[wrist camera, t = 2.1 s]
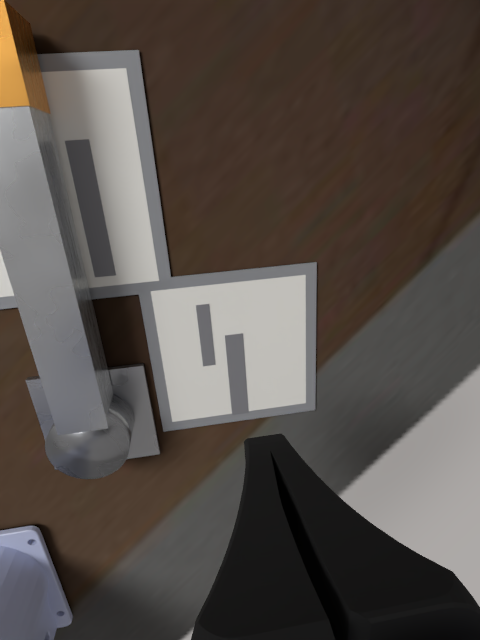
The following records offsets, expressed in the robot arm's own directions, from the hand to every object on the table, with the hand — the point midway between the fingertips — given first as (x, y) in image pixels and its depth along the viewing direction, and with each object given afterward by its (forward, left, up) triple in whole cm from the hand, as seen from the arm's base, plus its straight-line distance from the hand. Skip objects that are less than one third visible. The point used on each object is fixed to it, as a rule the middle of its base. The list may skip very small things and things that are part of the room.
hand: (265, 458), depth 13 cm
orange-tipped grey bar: (+5, +8, -8) cm, 12 cm away
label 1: (+9, +8, -8) cm, 15 cm away
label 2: (0, 0, -8) cm, 8 cm away
